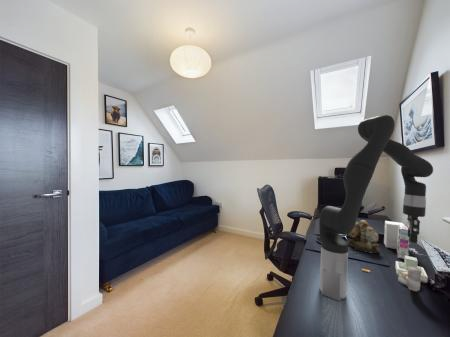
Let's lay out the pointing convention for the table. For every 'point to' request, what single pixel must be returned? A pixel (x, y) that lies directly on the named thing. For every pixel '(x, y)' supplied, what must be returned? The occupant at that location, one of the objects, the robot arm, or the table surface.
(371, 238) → the owl figurine
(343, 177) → the robot arm
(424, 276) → the tray
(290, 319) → the table surface
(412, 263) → the stop block
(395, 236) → the supplement box
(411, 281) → the crank arm
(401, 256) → the candy bar box
